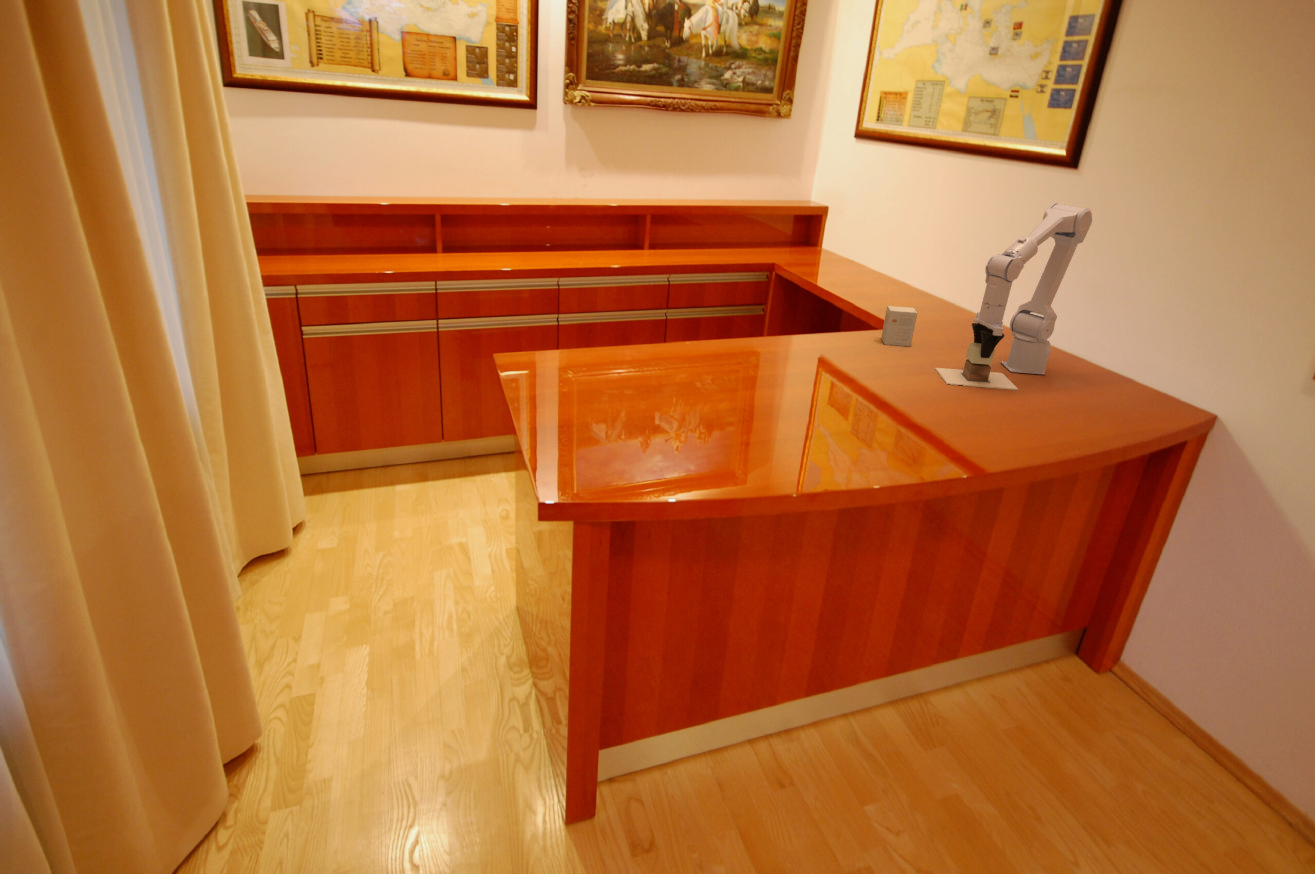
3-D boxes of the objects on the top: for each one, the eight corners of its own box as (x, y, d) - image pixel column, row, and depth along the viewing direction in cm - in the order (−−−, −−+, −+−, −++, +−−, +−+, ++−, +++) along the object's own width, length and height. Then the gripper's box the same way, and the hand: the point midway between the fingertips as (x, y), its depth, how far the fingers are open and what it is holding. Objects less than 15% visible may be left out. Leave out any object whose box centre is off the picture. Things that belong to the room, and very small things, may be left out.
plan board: (1001, 374, 203) (1002, 372, 203) (1017, 390, 192) (1018, 388, 192) (934, 369, 204) (935, 367, 203) (947, 384, 193) (947, 382, 193)
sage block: (985, 358, 198) (988, 344, 196) (991, 364, 193) (995, 350, 192) (966, 356, 198) (969, 342, 196) (971, 363, 193) (975, 348, 192)
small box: (907, 341, 226) (914, 307, 222) (910, 347, 221) (918, 312, 217) (880, 339, 227) (886, 305, 222) (883, 344, 222) (890, 310, 217)
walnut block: (981, 375, 200) (985, 360, 198) (987, 381, 195) (991, 367, 194) (962, 373, 200) (966, 359, 198) (968, 380, 196) (971, 365, 194)
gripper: (969, 295, 196) (957, 344, 202) (987, 309, 183) (974, 362, 188) (996, 297, 196) (984, 346, 201) (1016, 312, 182) (1002, 364, 188)
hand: (981, 354), depth 195 cm, fingers closed on sage block, 5 cm apart
